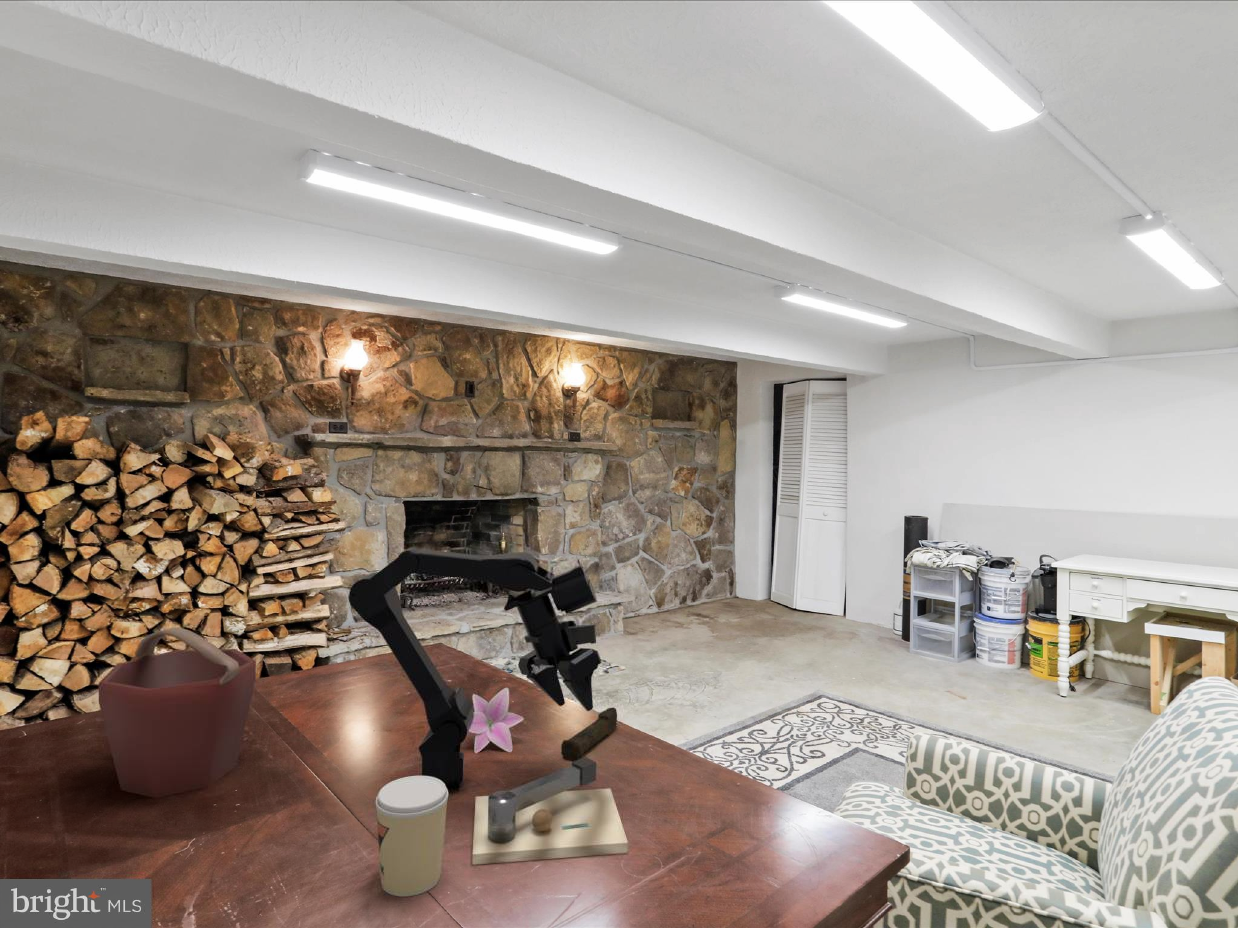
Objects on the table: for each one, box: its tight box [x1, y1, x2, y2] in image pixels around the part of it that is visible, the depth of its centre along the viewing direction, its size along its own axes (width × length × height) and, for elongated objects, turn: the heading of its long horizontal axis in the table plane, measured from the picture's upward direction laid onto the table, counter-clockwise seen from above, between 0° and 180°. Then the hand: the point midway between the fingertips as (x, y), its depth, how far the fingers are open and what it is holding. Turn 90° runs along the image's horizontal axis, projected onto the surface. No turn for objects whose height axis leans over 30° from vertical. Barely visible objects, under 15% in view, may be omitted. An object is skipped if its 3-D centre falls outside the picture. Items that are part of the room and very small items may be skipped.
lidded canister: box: [375, 775, 449, 898], centre depth 95 cm, size 9×9×12 cm
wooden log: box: [560, 706, 618, 762], centre depth 140 cm, size 19×4×5 cm, turn 150°
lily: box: [468, 687, 525, 754], centre depth 138 cm, size 12×12×10 cm
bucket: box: [98, 627, 257, 799], centre depth 122 cm, size 24×22×25 cm
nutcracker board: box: [471, 788, 629, 866], centre depth 108 cm, size 22×16×4 cm
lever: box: [488, 756, 597, 843], centre depth 109 cm, size 20×4×6 cm, turn 135°
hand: (576, 707), depth 122 cm, fingers open, 9 cm apart
